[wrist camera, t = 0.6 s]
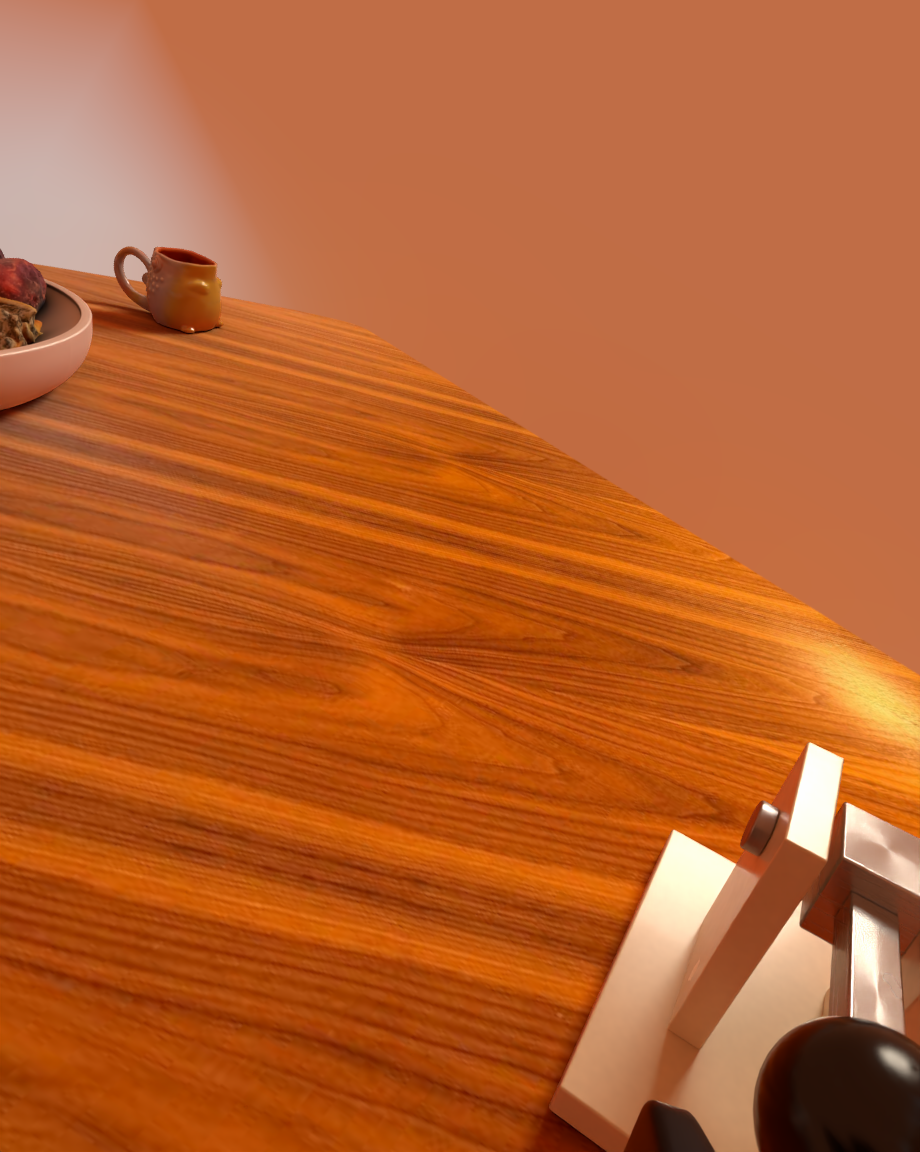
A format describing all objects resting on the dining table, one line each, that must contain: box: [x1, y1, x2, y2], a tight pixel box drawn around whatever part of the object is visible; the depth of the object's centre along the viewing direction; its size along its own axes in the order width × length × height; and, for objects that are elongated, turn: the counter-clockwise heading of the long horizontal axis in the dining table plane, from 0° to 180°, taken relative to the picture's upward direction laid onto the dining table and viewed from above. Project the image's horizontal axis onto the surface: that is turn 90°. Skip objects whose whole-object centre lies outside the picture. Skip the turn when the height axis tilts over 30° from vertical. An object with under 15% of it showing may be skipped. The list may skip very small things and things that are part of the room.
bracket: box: [549, 742, 920, 1152], centre depth 21 cm, size 11×9×9 cm
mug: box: [114, 247, 223, 333], centre depth 75 cm, size 12×7×7 cm, turn 66°
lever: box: [753, 802, 920, 1152], centre depth 16 cm, size 11×4×4 cm, turn 150°
